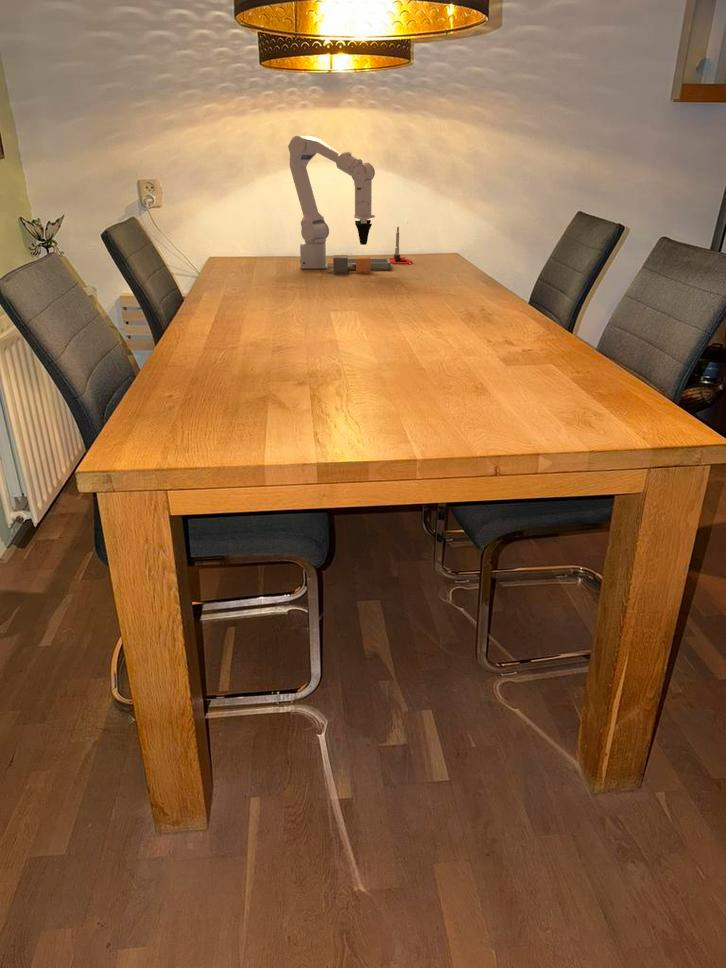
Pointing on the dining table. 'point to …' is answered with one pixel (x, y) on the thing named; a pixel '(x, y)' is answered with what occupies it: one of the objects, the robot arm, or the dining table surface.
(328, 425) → the dining table surface
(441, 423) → the dining table surface
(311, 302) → the dining table surface
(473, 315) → the dining table surface
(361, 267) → the hitch pin
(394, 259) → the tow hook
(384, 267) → the tray
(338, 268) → the block
